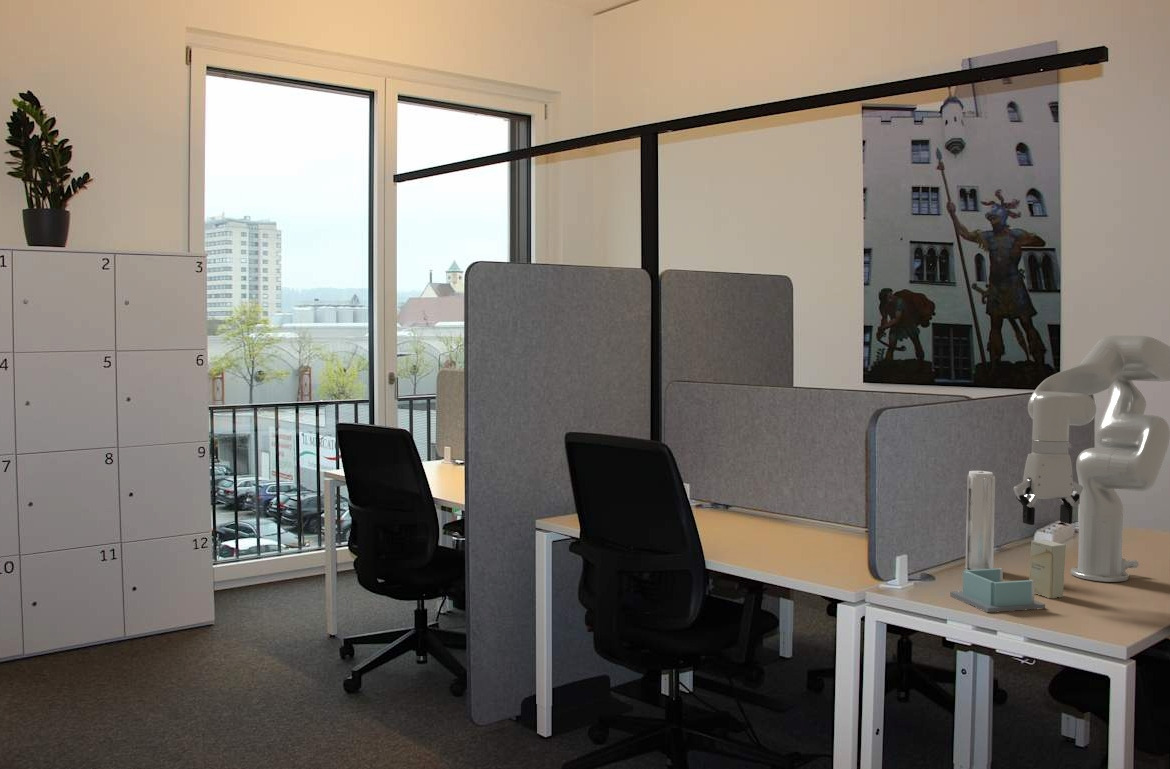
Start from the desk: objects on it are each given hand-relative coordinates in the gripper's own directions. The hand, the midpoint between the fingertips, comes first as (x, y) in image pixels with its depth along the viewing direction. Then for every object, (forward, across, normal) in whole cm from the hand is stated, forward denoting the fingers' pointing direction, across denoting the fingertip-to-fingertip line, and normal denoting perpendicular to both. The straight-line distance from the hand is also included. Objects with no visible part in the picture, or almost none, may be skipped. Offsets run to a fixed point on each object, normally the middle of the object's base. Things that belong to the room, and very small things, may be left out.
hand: (1047, 523), depth 227 cm
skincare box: (+17, -1, 0) cm, 17 cm away
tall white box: (+16, 0, -24) cm, 29 cm away
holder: (+17, +14, +3) cm, 22 cm away
